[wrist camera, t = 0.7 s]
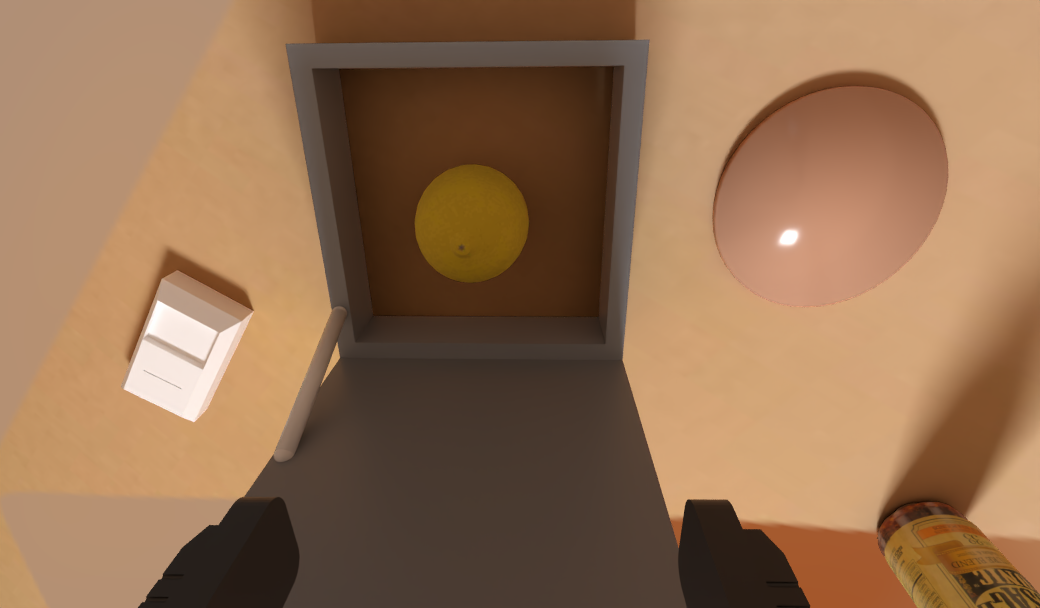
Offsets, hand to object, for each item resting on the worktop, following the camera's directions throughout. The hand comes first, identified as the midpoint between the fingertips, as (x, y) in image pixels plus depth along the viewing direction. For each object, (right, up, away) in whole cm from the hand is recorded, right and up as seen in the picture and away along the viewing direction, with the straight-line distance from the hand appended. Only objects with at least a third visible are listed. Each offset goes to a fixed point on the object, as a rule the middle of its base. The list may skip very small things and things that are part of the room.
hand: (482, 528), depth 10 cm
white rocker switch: (-20, +2, +24) cm, 31 cm away
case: (-1, +10, +19) cm, 21 cm away
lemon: (-1, +10, +19) cm, 21 cm away
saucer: (+18, +10, +18) cm, 27 cm away
